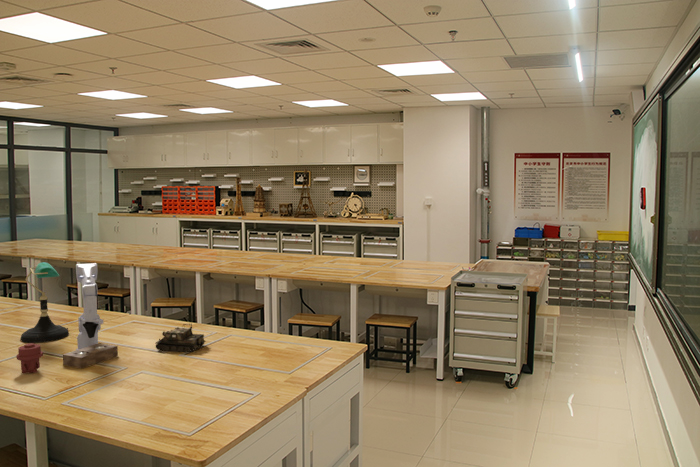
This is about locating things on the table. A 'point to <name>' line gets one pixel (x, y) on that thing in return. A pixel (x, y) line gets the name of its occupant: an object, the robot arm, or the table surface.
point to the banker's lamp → (44, 313)
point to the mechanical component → (29, 357)
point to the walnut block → (90, 355)
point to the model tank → (180, 340)
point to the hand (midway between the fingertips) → (91, 337)
